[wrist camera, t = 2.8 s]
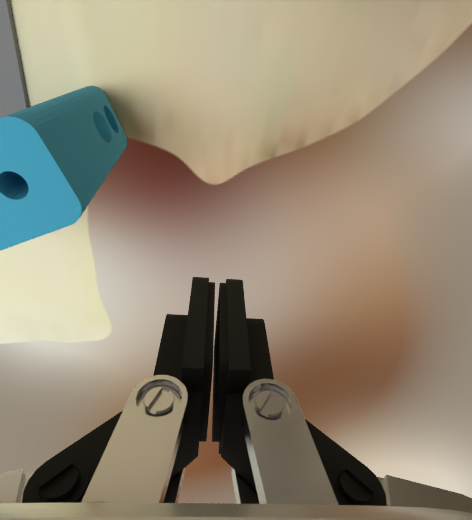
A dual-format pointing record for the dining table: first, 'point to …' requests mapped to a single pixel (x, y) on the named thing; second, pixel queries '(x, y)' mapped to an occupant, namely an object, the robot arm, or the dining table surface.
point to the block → (55, 162)
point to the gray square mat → (10, 66)
